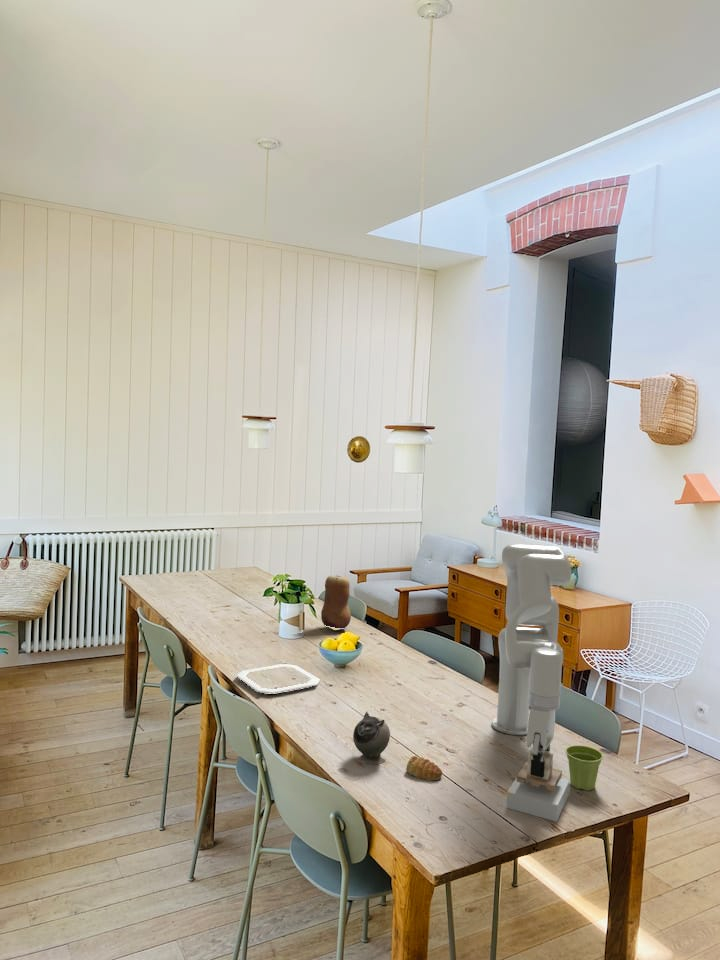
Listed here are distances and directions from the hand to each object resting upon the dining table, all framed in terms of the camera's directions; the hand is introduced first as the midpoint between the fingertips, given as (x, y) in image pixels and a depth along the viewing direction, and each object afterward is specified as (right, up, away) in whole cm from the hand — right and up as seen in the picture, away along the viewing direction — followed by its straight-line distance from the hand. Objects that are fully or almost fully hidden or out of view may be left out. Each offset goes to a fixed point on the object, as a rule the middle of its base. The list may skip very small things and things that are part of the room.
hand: (539, 770), depth 176 cm
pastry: (-28, -7, +13) cm, 31 cm away
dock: (0, -8, 0) cm, 8 cm away
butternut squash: (-56, +3, +149) cm, 159 cm away
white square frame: (-74, -1, +78) cm, 107 cm away
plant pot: (+14, -8, +10) cm, 19 cm away
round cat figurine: (-42, -5, +21) cm, 47 cm away
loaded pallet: (0, -2, 0) cm, 2 cm away
